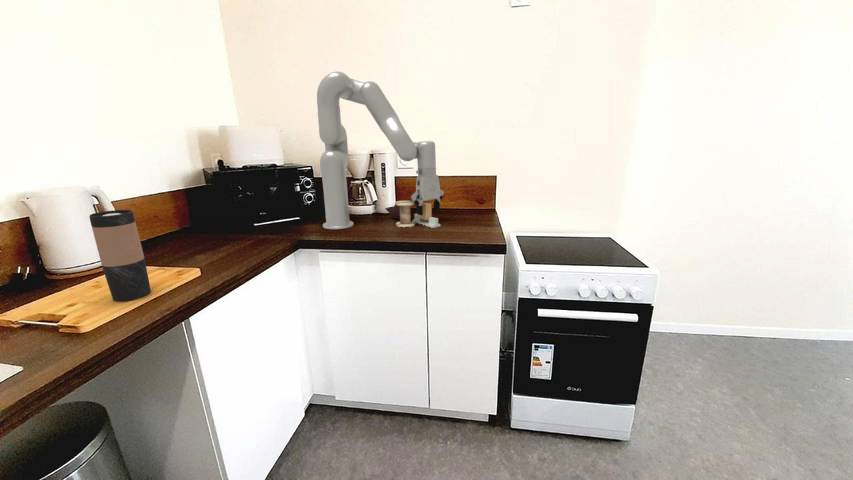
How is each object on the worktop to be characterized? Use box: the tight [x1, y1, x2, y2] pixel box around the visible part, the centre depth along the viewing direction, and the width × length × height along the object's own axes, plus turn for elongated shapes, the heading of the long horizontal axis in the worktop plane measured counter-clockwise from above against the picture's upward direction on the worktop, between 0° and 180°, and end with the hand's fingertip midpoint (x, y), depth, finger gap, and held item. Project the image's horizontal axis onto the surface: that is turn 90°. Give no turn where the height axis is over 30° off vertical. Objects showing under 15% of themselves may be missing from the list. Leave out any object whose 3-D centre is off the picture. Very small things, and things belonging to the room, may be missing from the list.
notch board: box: [412, 213, 441, 229], centre depth 152 cm, size 14×4×4 cm, turn 40°
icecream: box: [384, 204, 400, 220], centre depth 163 cm, size 7×7×15 cm
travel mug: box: [89, 209, 152, 303], centre depth 82 cm, size 8×8×20 cm
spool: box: [394, 200, 416, 229], centre depth 149 cm, size 8×8×10 cm
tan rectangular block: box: [420, 202, 433, 223], centre depth 151 cm, size 4×3×8 cm
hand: (428, 213), depth 151 cm, fingers open, 9 cm apart
